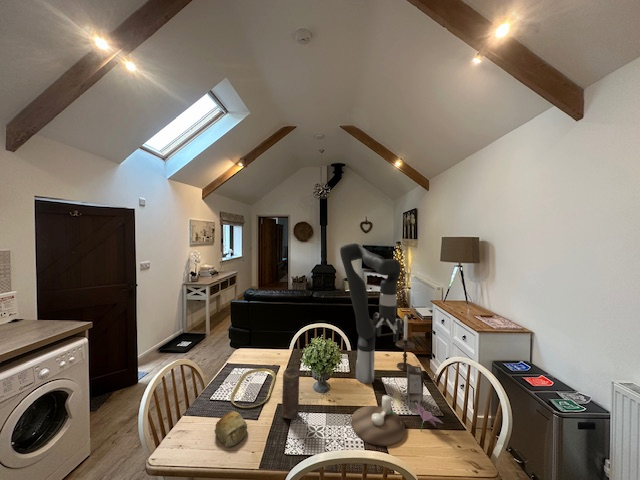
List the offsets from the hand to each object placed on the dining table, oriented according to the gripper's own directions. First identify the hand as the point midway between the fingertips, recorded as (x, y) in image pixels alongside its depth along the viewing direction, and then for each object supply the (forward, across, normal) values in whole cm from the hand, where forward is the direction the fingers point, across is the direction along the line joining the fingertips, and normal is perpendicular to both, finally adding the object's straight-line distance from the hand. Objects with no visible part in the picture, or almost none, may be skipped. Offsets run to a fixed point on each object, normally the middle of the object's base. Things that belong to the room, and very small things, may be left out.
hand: (387, 338), depth 128 cm
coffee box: (+33, -7, -14) cm, 37 cm away
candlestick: (+33, +14, -42) cm, 55 cm away
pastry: (+34, +33, +59) cm, 76 cm away
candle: (+33, +26, +35) cm, 55 cm away
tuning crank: (+31, -4, +8) cm, 32 cm away
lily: (+33, -18, -3) cm, 38 cm away
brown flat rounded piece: (+33, -4, +12) cm, 35 cm away
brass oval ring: (+34, +56, +35) cm, 74 cm away
